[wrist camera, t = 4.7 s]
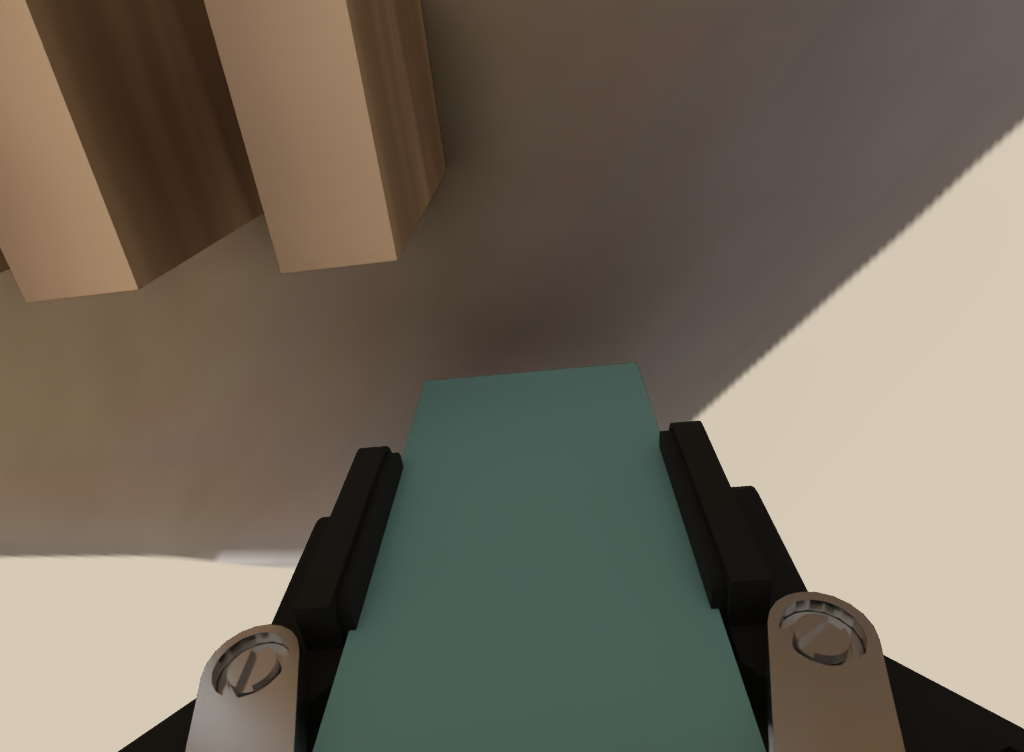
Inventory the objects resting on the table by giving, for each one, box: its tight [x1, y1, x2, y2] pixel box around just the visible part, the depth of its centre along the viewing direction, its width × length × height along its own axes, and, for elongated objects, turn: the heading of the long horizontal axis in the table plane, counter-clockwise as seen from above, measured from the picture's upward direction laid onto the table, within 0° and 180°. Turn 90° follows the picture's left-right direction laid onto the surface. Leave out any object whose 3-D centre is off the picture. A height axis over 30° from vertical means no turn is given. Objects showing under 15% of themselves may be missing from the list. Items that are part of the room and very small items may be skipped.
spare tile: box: [313, 363, 766, 752], centre depth 11 cm, size 2×5×10 cm, turn 96°
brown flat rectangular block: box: [0, 0, 264, 302], centre depth 14 cm, size 2×5×10 cm, turn 7°
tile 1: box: [204, 0, 446, 273], centre depth 14 cm, size 2×5×10 cm, turn 6°
